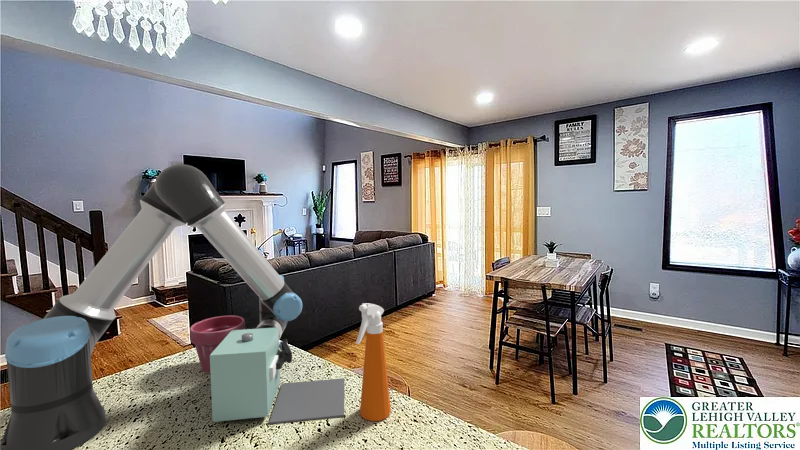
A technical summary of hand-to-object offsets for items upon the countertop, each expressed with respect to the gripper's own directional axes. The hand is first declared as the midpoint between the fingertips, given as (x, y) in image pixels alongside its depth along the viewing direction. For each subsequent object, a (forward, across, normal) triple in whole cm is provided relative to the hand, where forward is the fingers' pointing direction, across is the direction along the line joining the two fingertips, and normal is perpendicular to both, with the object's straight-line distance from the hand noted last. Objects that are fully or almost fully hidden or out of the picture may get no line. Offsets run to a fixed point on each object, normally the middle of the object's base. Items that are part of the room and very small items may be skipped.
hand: (243, 375), depth 76 cm
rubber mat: (-4, -14, -9) cm, 17 cm away
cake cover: (-4, 0, -8) cm, 9 cm away
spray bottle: (+5, -28, -9) cm, 30 cm away
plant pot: (-26, +14, -9) cm, 31 cm away
